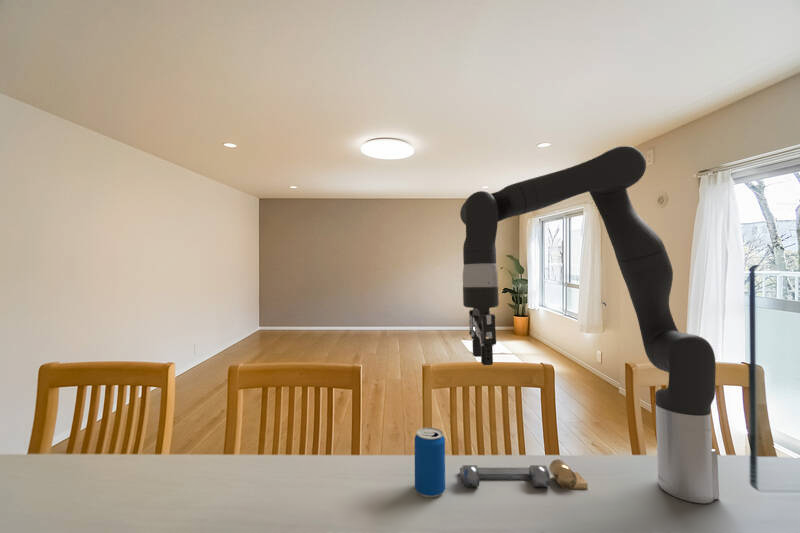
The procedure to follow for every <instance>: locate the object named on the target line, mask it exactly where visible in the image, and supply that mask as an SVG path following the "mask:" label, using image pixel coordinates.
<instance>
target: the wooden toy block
mask: <svg viewBox="0 0 800 533" xmlns="http://www.w3.org/2000/svg"><path fill="white" fill-rule="evenodd" d="M548 472H549V474H551V475H552V477H553V478H554V480H555V481H556V482H557V484H559V486H560V487H561V488H562V489H564V490H588V488H589V485H588V482H587V481H586V480H585V479H584V478H583V477H582V476H581V474H580V473H578V472H577V471H576V472H575V471H573V470H572V468H570V466H568V465H567V464H566V462H565V461H563V460H562V459H554V460H553V461H551V463H550V464H549V468H548Z"/></svg>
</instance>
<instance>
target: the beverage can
mask: <svg viewBox="0 0 800 533" xmlns="http://www.w3.org/2000/svg"><path fill="white" fill-rule="evenodd" d="M414 489H415V491H417V493H419V495H421V496H422V497H425V498H430V499H431V498H437V497H439V496H440V495H441V494H444V492H445V491H446V439H445V436H444V432H443V431H442V430H441V429H440V428H439V429H438V428H436V427H421V428H420V429H419V428H418V430H417V431H416V435H415V436H414Z"/></svg>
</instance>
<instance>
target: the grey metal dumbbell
mask: <svg viewBox="0 0 800 533" xmlns="http://www.w3.org/2000/svg"><path fill="white" fill-rule="evenodd" d="M459 474H460V477H461V481H462V484H463V487H472V488H474V487H476V488H477V487H479V486H480V480H528V481H529V482H530V484H531V486H533V487H536V488H538V487H540V488H541V487H544V488H545V487H547V488H549V487H550V486H551V478H550V477H551V476H550V471H549V468H548V467H547V466H546V465H545V464H544V465H542V464H539V465H538V464H537V465H535V464H534V465H533V464H532V465H531V464H530V465H529V467H478V465H477V464H473V465H472V464H469V465H467V464H463V465H462V467H459Z"/></svg>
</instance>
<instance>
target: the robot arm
mask: <svg viewBox="0 0 800 533" xmlns="http://www.w3.org/2000/svg"><path fill="white" fill-rule="evenodd" d="M646 170H647V161H646V158H645V156H644V155H643V153H642V151H640V150H639V149H638V148H636V147H634V146H631V145H630V146H629V145H619V146H616V147H613V148H610V149H608V150H606V151H605V152H603V153H602V154H599V155H598V156H595V157H593V158H591V159H588V160H587V161H583V162H581V163H579V164H575V165H573V166H570V167H567V168H564V169H561V170H558V171H557V170H556V171H554V172H550V173H547V174H544V175H543V174H542V175H539V176H537V177H532V178H528V179H524V180H522V181H518V182H516V183H512V184H509V185H507V186H505V187H503V188H502V189H500V190H498V191H495V192H492V193H489V192H487V191H484V190H483V191H482V190H481V191H480V190H479V191H475V192H474V193H472V194H470V195H469V197H467V198H466V199H465V201H464V203H463V204H462V206H461V207H460V211H459V214H460V215H459V216H460V219H461V221H462V223H463V224H464V225H465V240H464V242H463V247H462V251H463V252H462V255H463V257H462V258H463V261H462V262H463V269H462V301H463V303H462V304H463V307H465V308H467V309H468V308H470V309H469V312H468V314H469V332H468V333H469V335H470V338H471V340H472V356H474V358H480V362H481V365H482V366H492V365H493V364H494V359H493V358H494V357H493V356H494V354H493V350H494V349H493V347H494V345H497V335H496V334H497V332H496V315H495V314H494V313H493V314H492V313H491V311H490V309H491V308H497V307H499V305H500V304H499V302H500V300H499V276H498V268H497V248H496V240H497V232H498V226H499V224H498V223H499V222H501V221H503V220H506V219H509V218H512V217H516V216H521V215H525V214H528V213H532V212H535V211H538V210H541V209H545V208H547V207H551V206H553V205H555V204H558V203H561V202H563V201H565V200H569V199H570V198H572V197H573V198H574V197H576V196H580V195H582V194H585V193H589V194H590V197H591V199H592V200H593V202H594V204H595V206H596V209H597V210H598V213H599V214H600V217H601V219H602V221H603V225H604V227H605V230H606V233H607V235H608V238H609V241H610V242H611V246H612V247H613V248H612V249H613V251H614V255H615V258H616V261H617V263H618V267H619V270H620V273H621V275H622V277H623V281H624V283H625V285H626V287H627V291H628V293H629V294H628V295H629V296H630V300H631V303H632V306H633V308H634V311H635V314H636V318H637V322H638V326H639V331H640V334H641V335H640V336H641V340H642V345H643V347H644V348H643V349H644V352H645V355H646V357H647V359H648V360H649V362H650V363H651V364H652V365H653V366H654V367H655V368H657V369H659V370H660V371H663V372H666V373H668V383H667V384H668V385H667V387H666V388H660V389H658V390H656V391H655V393H654V394H655V425H656V426H655V429H656V449H657V450H656V452H657V453H656V454H657V478H658V479H657V481H658V486H659V488H661V490H663V491H664V492H666V493H667V494H669V495H671V496H672V497H675V498H677V499H681V500H683V501H687V502H690V503H691V502H692V503H695V504H711V503H713V502H714V501H715V500H720V485H719V484H720V483H719V462H718V452H717V450H716V449H715V448H713V439H712V438H713V437H712V436H713V434H712V418H711V417H712V415H711V413H712V412H711V411H712V410H711V406H712V404H713V402H714V399H715V395H716V375H717V374H716V364H717V363H716V356H715V352H714V348H713V347H712V345H711V343H710V342H709V341H708V340H706V339H705V338H704V337H702V336H700V335H696V334H693V333H686V332H680V331H679V329H678V328H677V326H676V323H675V321H674V319H673V318H674V317H673V315H672V313H671V309H670V308H671V307H670V296H671V290H672V286H673V280H674V278H673V277H674V270H673V266H672V263H671V260H670V257H669V255H668V252H667V249H666V247H665V244H664V242H663V240H662V239H661V237H660V236H659V235H658V234H657V232H655V231H654V230H653V228H652V227H651V226H649V224H647V223H646V221H645V220H643V219H642V217H641V216H640V215H639V214H638V212H637V211H636V210H635V208H634V206H633V204H632V201H631V198H630V195H629V193H628V189H629V188H631V187H632V186H634V185H635V184H637V183H638V182H639V181H640V180H641V179H642V177H643V176H644V175H645V172H646ZM471 308H472V309H471Z"/></svg>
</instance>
